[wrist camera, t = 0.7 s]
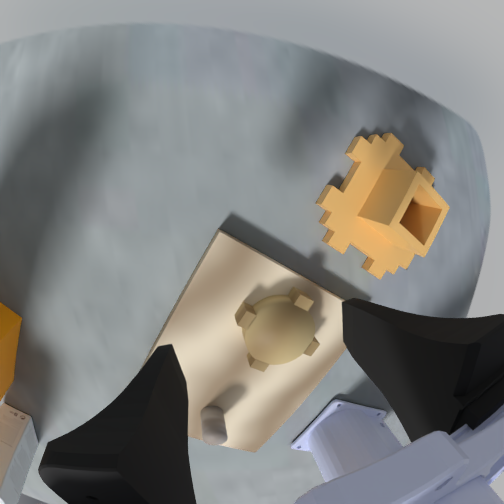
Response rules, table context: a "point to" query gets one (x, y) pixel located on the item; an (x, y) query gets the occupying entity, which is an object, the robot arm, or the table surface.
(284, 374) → the carrier plate
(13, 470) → the skincare box
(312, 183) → the table surface
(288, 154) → the table surface
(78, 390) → the table surface
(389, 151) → the gear
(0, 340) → the orange juice
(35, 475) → the table surface
